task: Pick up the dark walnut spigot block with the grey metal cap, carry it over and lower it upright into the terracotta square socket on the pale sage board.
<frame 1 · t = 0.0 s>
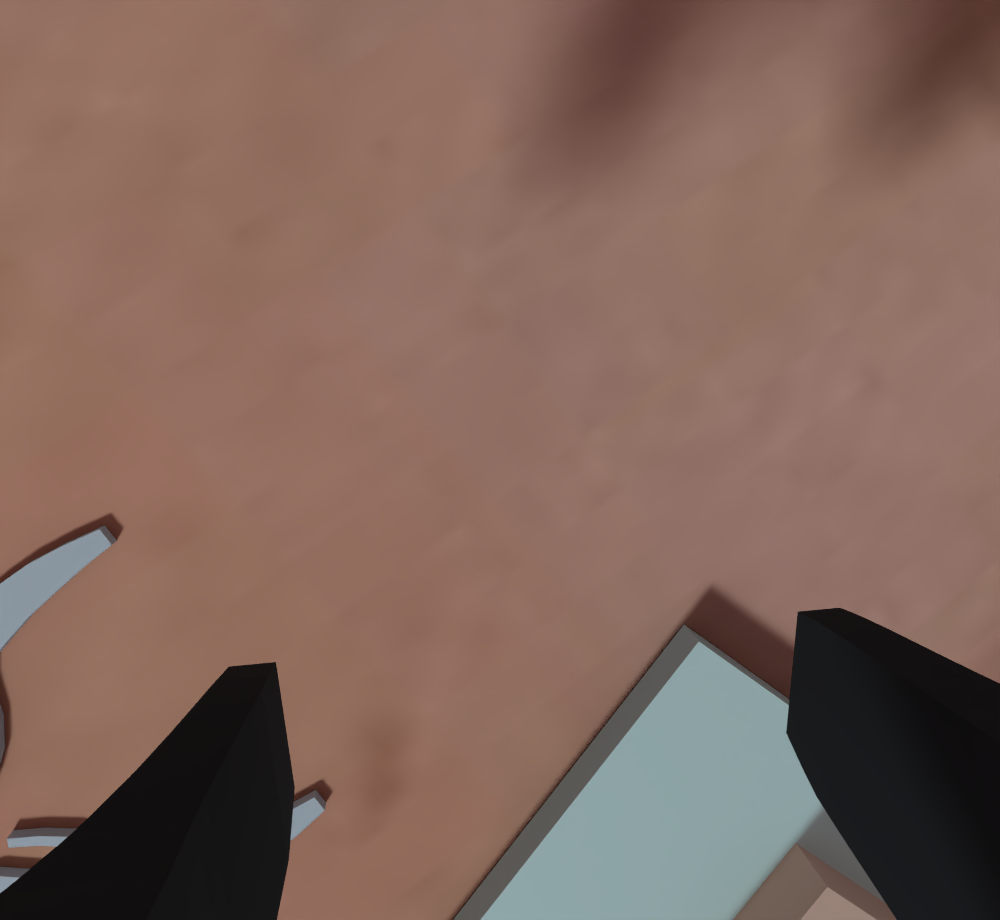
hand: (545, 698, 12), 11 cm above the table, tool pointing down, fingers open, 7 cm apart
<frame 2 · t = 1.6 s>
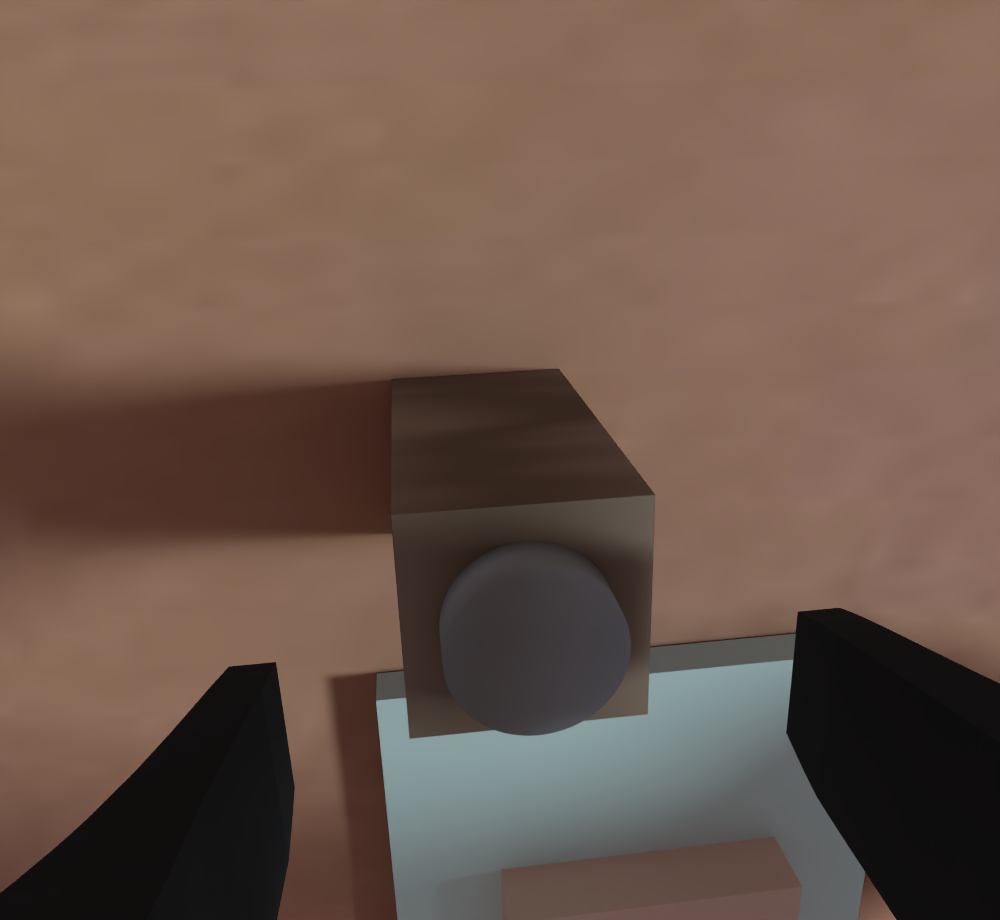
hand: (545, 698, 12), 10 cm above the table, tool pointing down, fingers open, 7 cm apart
spigot block: (479, 453, 21), on the table
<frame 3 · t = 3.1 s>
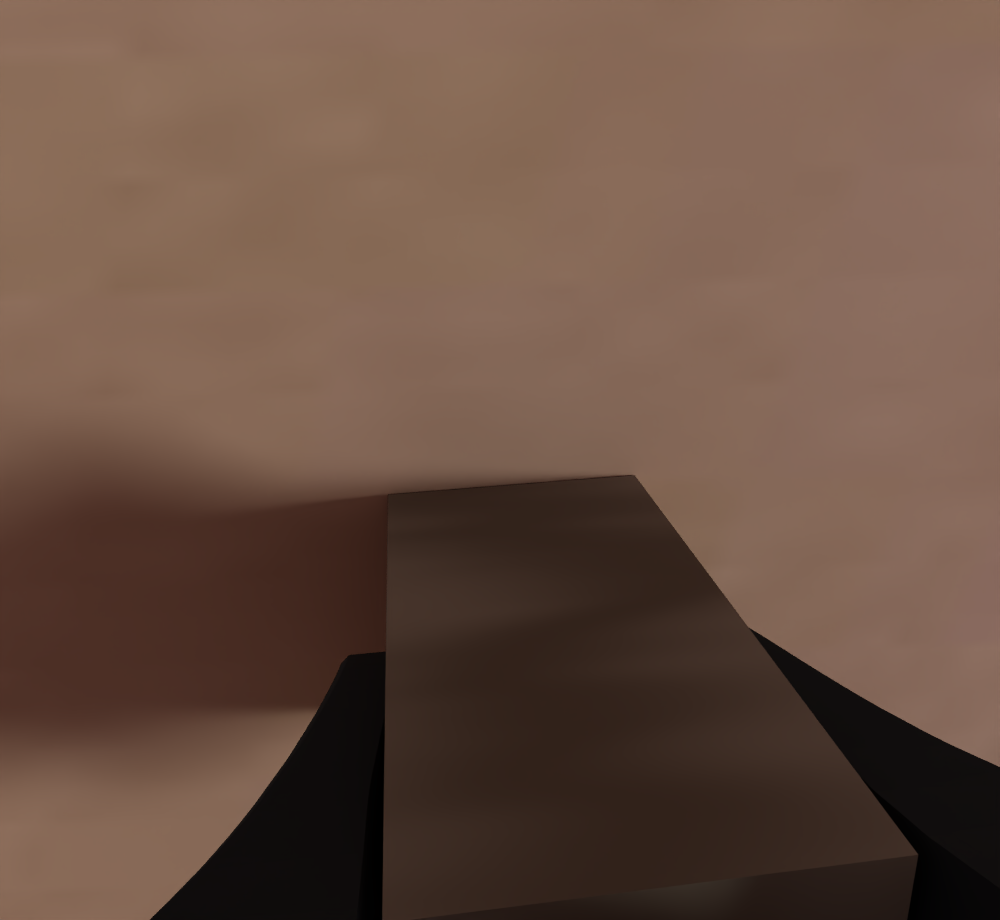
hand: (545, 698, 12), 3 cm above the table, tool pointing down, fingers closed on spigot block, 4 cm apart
spigot block: (516, 594, 14), on the table, touching gripper
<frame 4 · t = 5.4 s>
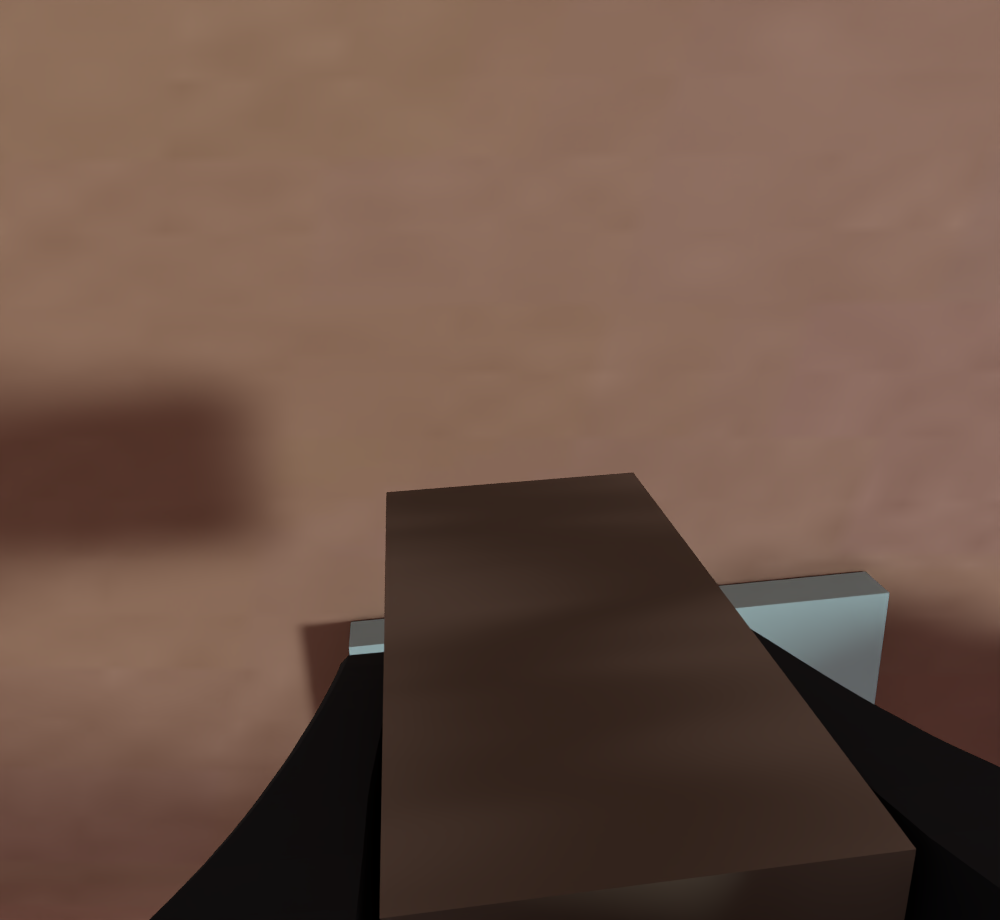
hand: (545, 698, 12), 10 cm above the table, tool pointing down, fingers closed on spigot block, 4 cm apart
dock board: (613, 882, 26), on the table
spigot block: (515, 592, 14), point 7 cm above the table, touching gripper
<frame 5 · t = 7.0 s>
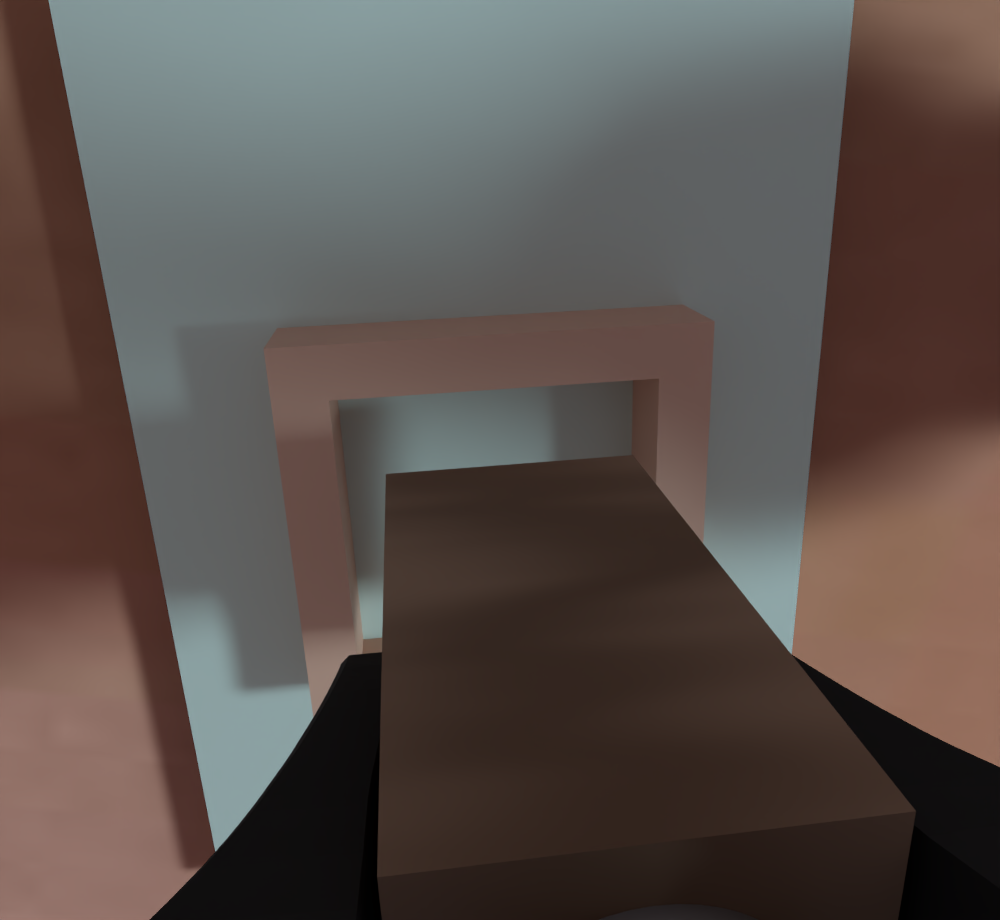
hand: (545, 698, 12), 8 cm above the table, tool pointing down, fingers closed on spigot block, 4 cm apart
dock board: (487, 483, 19), on the table
spigot block: (514, 575, 14), point 5 cm above the table, touching gripper
when the fingers open (5 cm above the table, at t = 8.0 s): spigot block stays where it is, resting on dock board.
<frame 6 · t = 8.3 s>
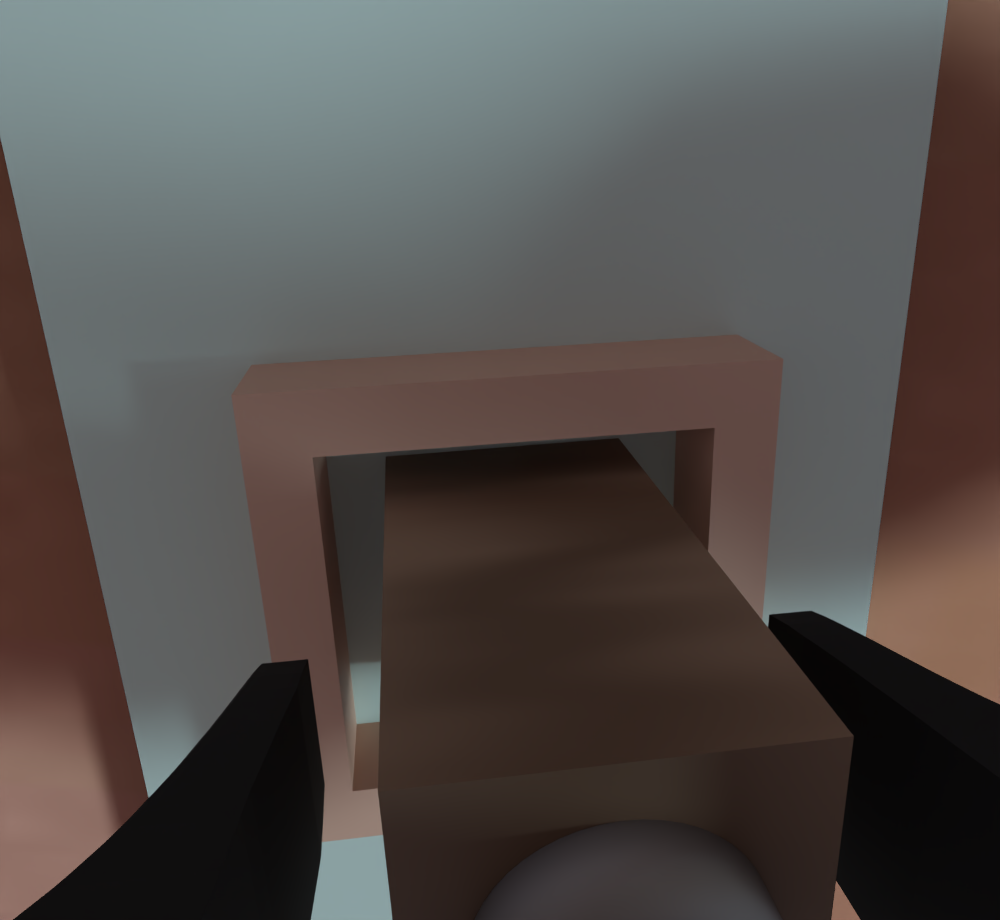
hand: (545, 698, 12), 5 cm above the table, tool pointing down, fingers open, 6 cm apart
dock board: (501, 539, 16), on the table
spigot block: (508, 552, 15), point 1 cm above the table, touching dock board
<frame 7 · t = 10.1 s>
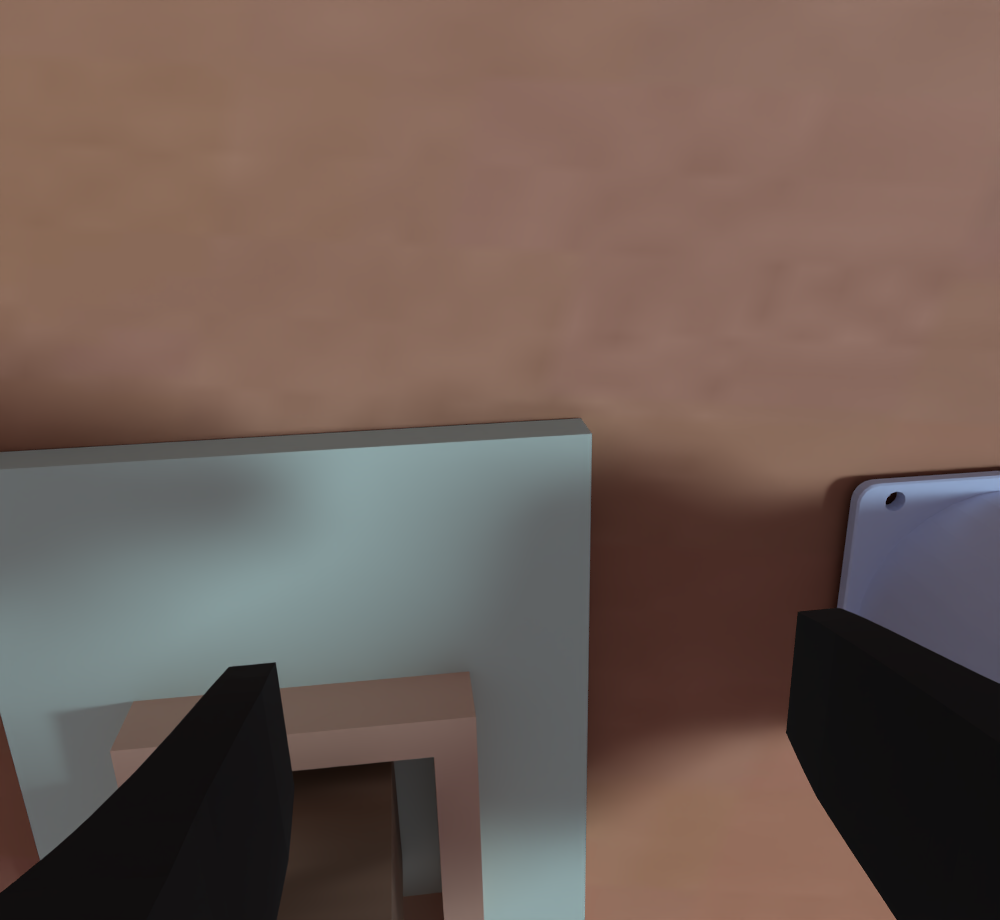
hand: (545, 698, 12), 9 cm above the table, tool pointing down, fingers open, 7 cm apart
dock board: (324, 784, 23), on the table
spigot block: (319, 807, 22), point 1 cm above the table, touching dock board
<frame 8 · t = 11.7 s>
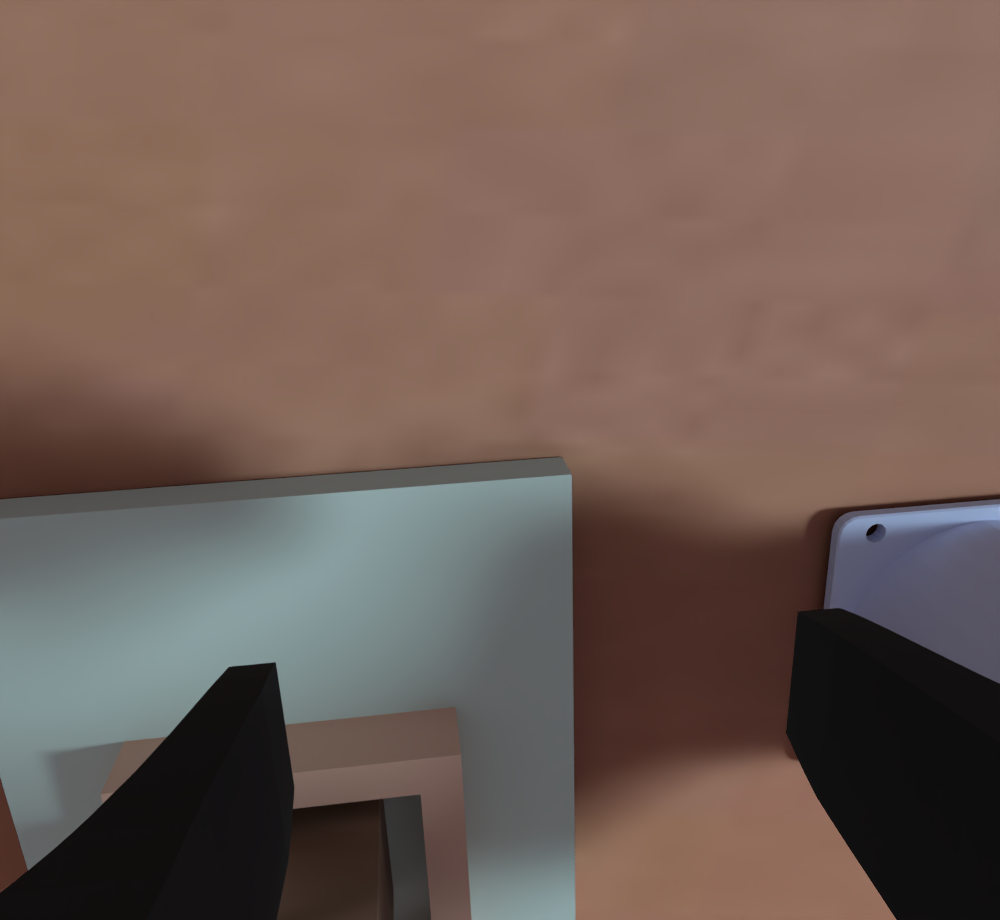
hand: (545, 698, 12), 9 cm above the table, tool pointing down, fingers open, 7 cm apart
dock board: (315, 817, 23), on the table
spigot block: (309, 841, 22), point 1 cm above the table, touching dock board
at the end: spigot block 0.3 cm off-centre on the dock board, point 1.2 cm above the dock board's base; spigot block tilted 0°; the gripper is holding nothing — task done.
